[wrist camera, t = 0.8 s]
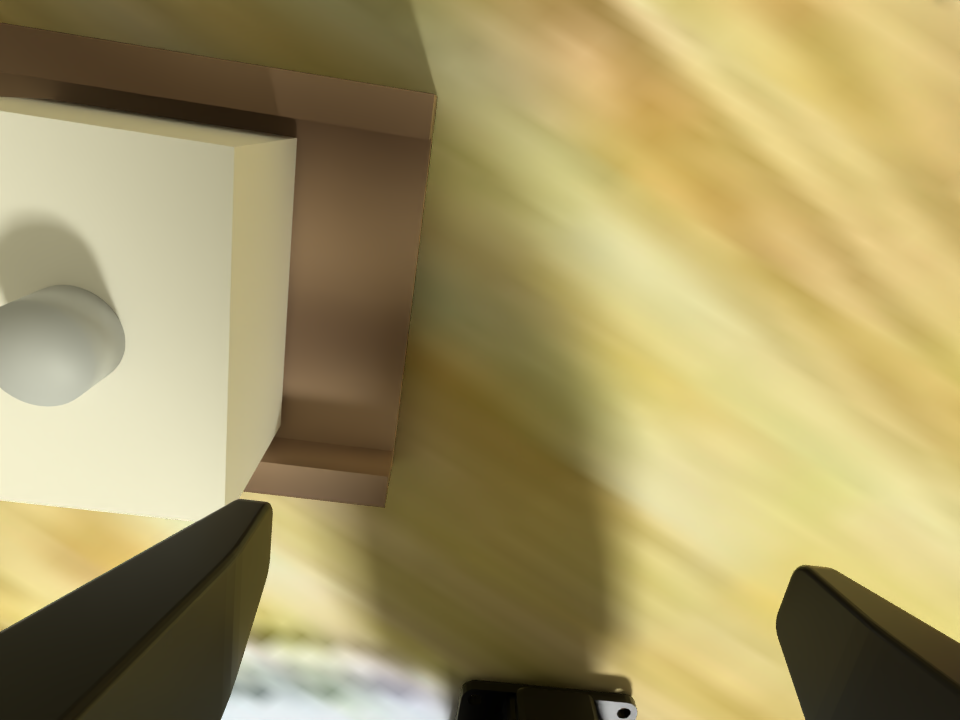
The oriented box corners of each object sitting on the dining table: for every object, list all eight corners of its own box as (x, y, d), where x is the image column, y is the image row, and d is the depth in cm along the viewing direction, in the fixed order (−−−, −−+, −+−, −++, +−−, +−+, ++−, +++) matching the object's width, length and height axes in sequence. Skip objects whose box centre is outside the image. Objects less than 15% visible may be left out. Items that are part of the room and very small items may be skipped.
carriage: (280, 425, 19) (204, 558, 14) (65, 399, 19) (-109, 525, 13) (297, 137, 17) (211, 150, 11) (46, 98, 16) (-184, 89, 10)
